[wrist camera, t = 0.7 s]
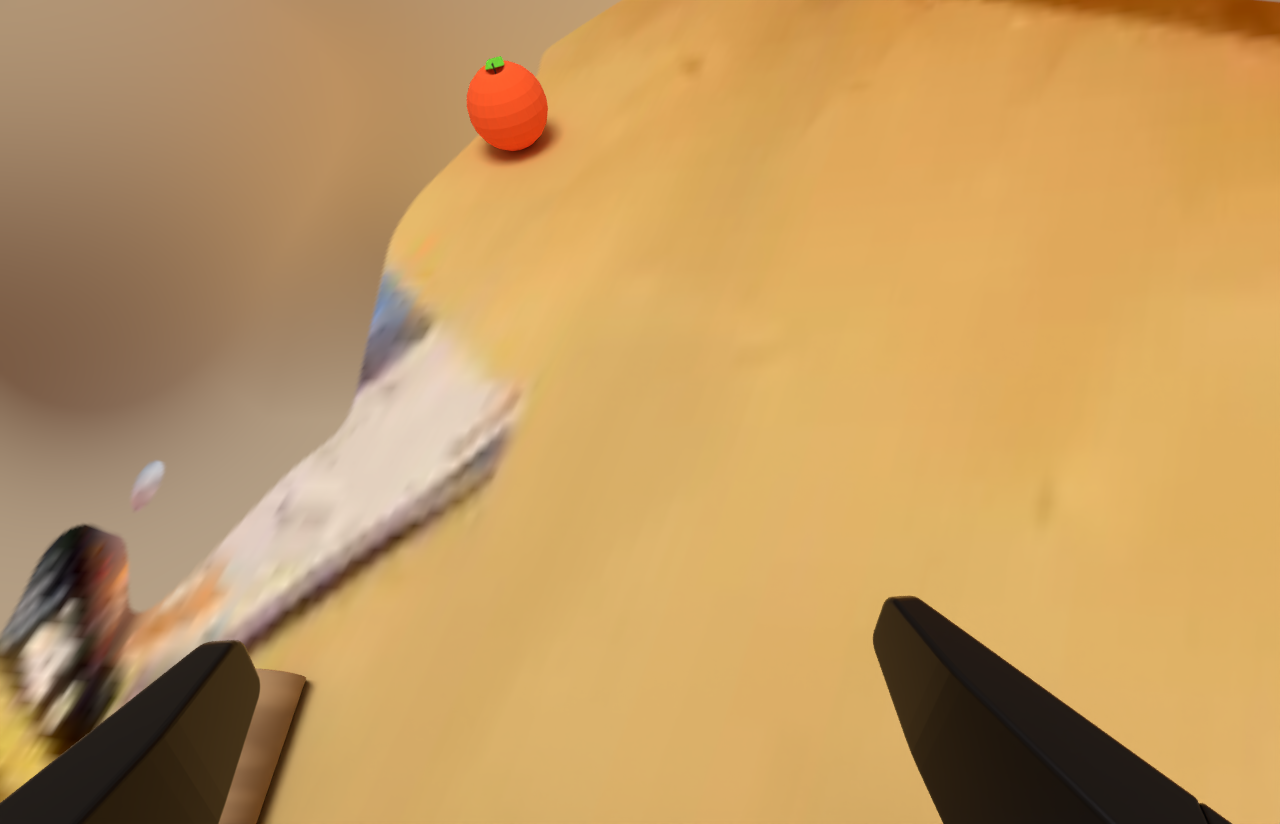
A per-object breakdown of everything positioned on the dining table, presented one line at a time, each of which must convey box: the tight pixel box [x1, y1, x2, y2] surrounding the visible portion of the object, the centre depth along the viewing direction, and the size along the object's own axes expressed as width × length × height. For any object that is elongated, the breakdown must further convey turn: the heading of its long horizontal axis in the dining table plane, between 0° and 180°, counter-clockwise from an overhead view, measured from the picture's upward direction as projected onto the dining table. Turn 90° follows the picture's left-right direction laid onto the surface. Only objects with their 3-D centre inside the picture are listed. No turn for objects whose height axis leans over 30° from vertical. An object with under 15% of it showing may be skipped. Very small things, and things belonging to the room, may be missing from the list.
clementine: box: [467, 56, 548, 151], centre depth 50 cm, size 8×7×7 cm
